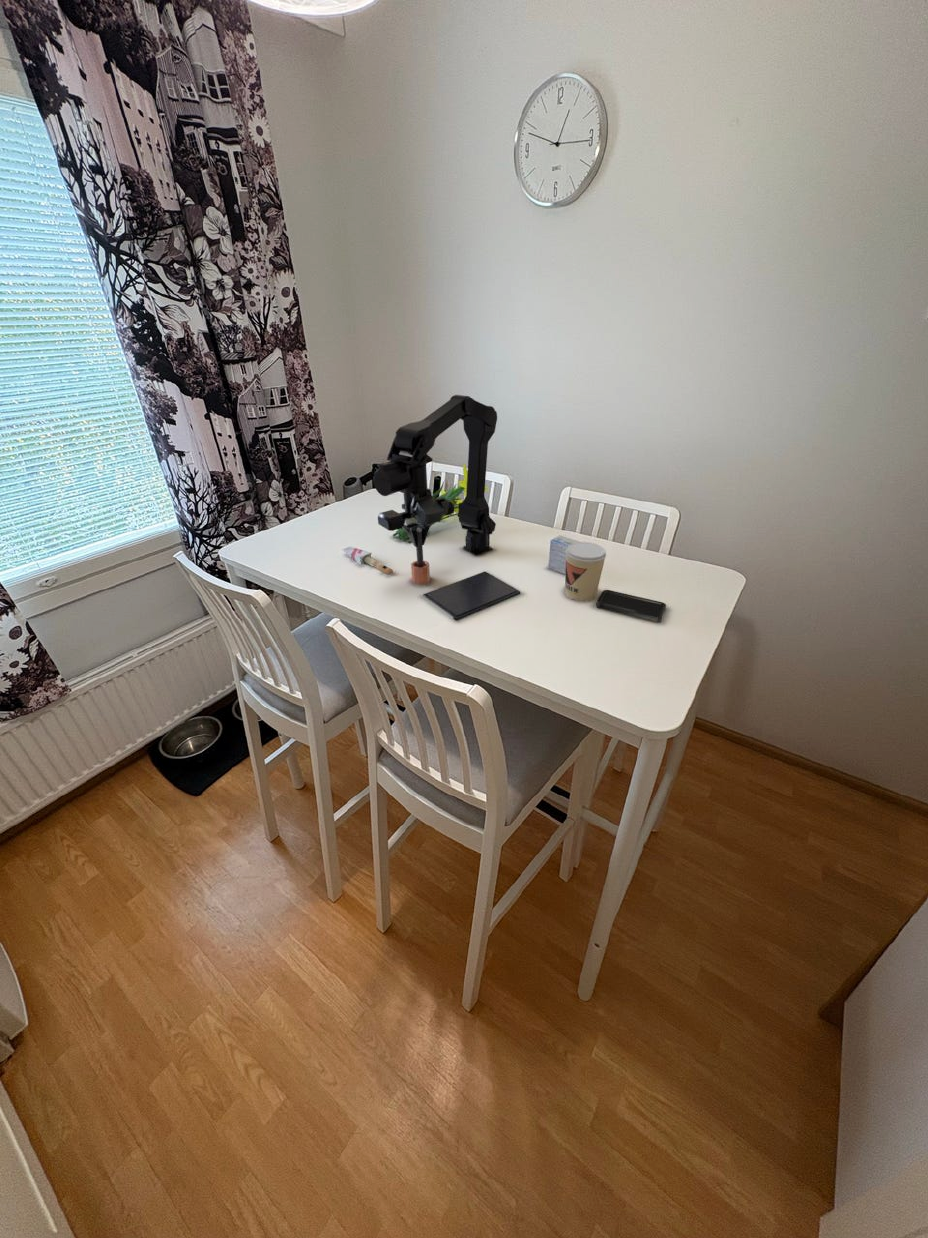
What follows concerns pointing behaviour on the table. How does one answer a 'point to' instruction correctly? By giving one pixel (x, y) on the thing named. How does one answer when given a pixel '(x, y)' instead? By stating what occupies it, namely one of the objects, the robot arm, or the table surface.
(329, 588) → the table surface
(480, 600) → the tablet
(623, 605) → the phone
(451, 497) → the daffodil flowers
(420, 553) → the stylus
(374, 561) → the paintbrush
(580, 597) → the coffee cup
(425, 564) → the pen cup
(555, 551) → the medicine box
